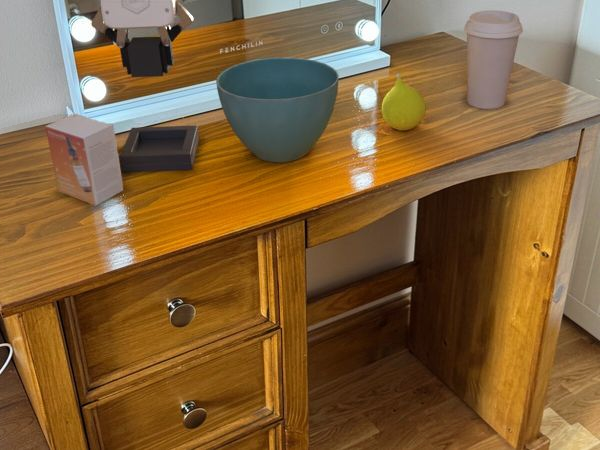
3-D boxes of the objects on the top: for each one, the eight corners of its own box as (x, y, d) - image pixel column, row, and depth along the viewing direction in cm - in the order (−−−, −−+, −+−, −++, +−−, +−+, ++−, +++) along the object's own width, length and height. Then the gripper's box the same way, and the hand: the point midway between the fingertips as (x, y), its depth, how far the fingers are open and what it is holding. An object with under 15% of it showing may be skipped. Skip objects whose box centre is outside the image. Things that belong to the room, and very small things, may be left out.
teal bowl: (214, 135, 126) (207, 64, 120) (321, 121, 130) (319, 51, 123) (234, 185, 111) (227, 106, 104) (354, 167, 114) (354, 90, 108)
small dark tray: (192, 170, 115) (190, 153, 114) (122, 172, 115) (119, 156, 114) (199, 140, 125) (197, 125, 123) (134, 142, 125) (131, 127, 123)
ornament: (390, 117, 130) (392, 60, 125) (430, 123, 127) (434, 66, 122) (374, 133, 125) (375, 74, 120) (415, 140, 122) (418, 80, 117)
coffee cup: (519, 111, 130) (530, 24, 123) (463, 113, 131) (470, 26, 123) (507, 91, 139) (516, 8, 131) (454, 92, 139) (460, 9, 131)
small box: (57, 192, 111) (43, 125, 105) (87, 177, 114) (74, 111, 109) (95, 207, 107) (82, 138, 101) (125, 190, 110) (113, 123, 105)
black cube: (162, 76, 111) (158, 46, 108) (131, 77, 111) (127, 47, 108) (166, 65, 114) (163, 36, 112) (136, 66, 114) (132, 37, 112)
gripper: (61, -51, 100) (86, 82, 109) (190, -56, 100) (204, 77, 109) (75, -63, 106) (97, 64, 116) (196, -67, 106) (209, 60, 116)
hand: (149, 69), depth 112 cm, fingers closed on black cube, 4 cm apart
